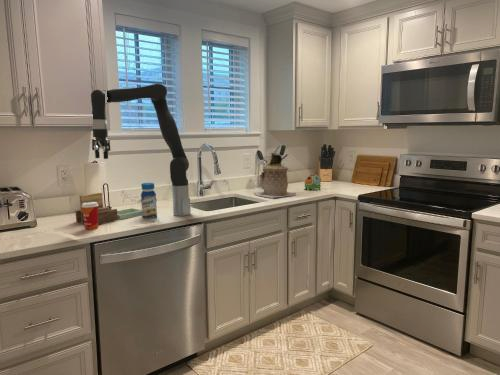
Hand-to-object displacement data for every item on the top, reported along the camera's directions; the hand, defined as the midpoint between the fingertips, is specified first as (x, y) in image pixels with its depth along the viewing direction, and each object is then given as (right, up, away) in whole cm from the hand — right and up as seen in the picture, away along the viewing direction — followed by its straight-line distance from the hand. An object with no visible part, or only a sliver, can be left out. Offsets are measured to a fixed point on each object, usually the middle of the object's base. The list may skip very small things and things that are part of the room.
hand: (101, 158), depth 204 cm
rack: (0, -35, -5) cm, 35 cm away
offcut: (0, -34, -6) cm, 34 cm away
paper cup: (+3, -37, -21) cm, 43 cm away
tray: (+11, -33, +7) cm, 36 cm away
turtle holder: (+132, -18, +100) cm, 166 cm away
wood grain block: (-3, -33, -3) cm, 34 cm away
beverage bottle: (+25, -33, +4) cm, 42 cm away
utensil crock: (+99, -22, +75) cm, 126 cm away
